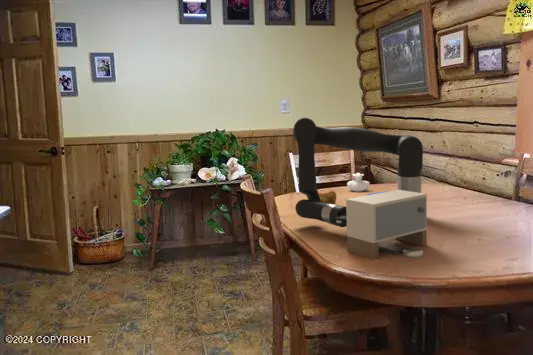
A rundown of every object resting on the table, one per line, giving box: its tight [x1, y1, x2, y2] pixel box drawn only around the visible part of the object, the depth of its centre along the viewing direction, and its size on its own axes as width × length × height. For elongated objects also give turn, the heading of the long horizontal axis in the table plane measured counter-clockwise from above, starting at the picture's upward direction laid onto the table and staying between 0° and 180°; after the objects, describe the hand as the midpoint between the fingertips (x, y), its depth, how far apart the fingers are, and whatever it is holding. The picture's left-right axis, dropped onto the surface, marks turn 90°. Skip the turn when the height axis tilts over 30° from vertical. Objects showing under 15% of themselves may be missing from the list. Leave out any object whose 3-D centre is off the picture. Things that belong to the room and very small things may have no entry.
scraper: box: [379, 240, 414, 256], centre depth 167 cm, size 20×7×13 cm, turn 33°
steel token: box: [402, 247, 424, 259], centre depth 157 cm, size 6×6×2 cm
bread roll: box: [318, 190, 337, 205], centre depth 235 cm, size 13×10×8 cm
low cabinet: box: [345, 189, 428, 260], centre depth 164 cm, size 14×24×17 cm, turn 123°
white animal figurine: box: [346, 172, 371, 193], centre depth 271 cm, size 12×8×11 cm
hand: (370, 223), depth 171 cm, fingers closed on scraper, 3 cm apart
